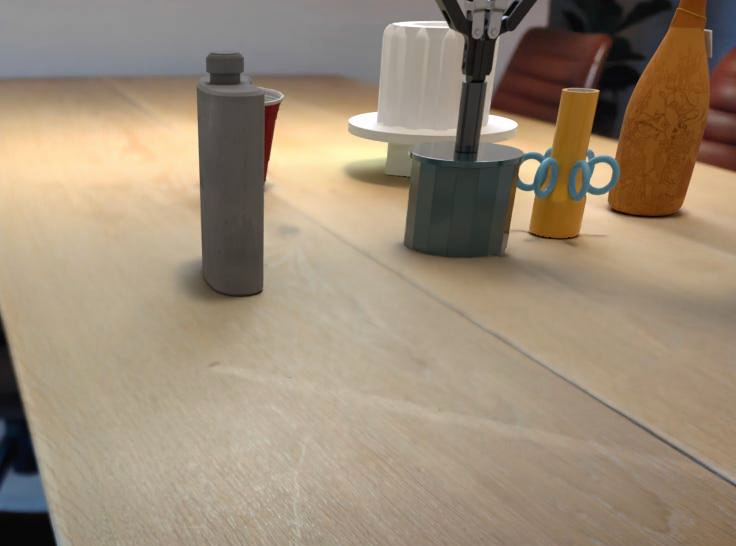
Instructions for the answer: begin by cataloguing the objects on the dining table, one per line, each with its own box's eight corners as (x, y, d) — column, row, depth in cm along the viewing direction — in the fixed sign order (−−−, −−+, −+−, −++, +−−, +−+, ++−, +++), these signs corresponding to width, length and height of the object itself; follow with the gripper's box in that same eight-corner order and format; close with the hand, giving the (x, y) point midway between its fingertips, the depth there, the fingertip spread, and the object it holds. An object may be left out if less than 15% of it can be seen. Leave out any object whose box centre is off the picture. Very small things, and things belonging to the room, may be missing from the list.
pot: (518, 243, 107) (533, 153, 101) (486, 268, 99) (500, 171, 93) (425, 231, 111) (434, 144, 105) (387, 253, 103) (395, 160, 97)
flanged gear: (478, 196, 126) (500, 33, 115) (318, 178, 136) (323, 26, 125) (530, 166, 144) (554, 22, 132) (384, 152, 153) (395, 16, 142)
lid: (536, 159, 101) (550, 78, 97) (501, 179, 93) (514, 91, 88) (431, 149, 106) (440, 72, 102) (390, 167, 98) (396, 83, 93)
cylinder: (544, 217, 117) (569, 81, 108) (618, 232, 111) (651, 90, 102) (488, 233, 110) (509, 90, 101) (563, 250, 104) (592, 99, 95)
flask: (198, 256, 102) (190, 45, 90) (249, 255, 103) (248, 44, 91) (208, 297, 90) (201, 60, 78) (266, 295, 91) (268, 60, 79)
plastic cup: (225, 197, 126) (223, 97, 119) (197, 182, 134) (193, 88, 126) (295, 190, 129) (297, 93, 122) (264, 176, 137) (264, 84, 130)
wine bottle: (682, 221, 115) (762, -80, 97) (601, 214, 118) (665, -80, 100) (682, 204, 123) (757, -78, 104) (606, 198, 125) (667, -78, 107)
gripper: (447, -141, 81) (424, 86, 91) (587, -138, 82) (549, 85, 93) (422, -135, 86) (404, 78, 97) (554, -133, 88) (522, 76, 99)
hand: (475, 81), depth 95 cm, fingers closed
